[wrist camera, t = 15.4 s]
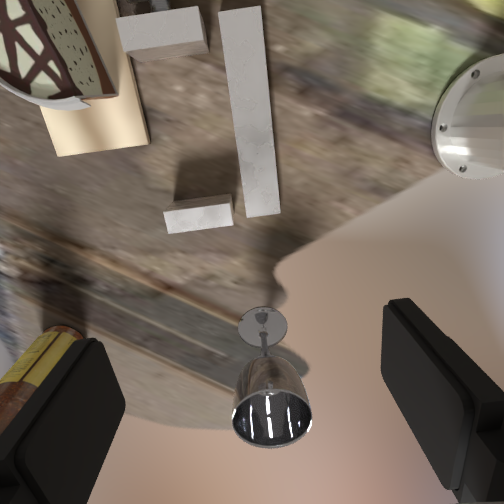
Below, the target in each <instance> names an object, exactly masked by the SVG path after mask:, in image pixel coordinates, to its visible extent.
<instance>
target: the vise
mask: <svg viewBox="0 0 504 504" xmlns="http://www.w3.org/2000/svg"><path fill="white" fill-rule="evenodd" d="M126 1H127V2H128V3H130V4H133V3H139V2H146V1H149V3H150V8H151V13H147V14H140V15H133V16H127V17H120V18H115V19H116V23H117V27H118V31H119V35H120V40H121V44H122V48H123V52H125V53H126V54H128V55H130V56H131V57H133V58H134V59H136V60H138V61H139V62H141V63H143V62H149V61H156V60H163V59H170V58H177V57H184V56H191V55H197V54H204V53H209V49H208V42H207V36H206V30H205V24H204V21H203V18H202V16H201V13H200V10H199V7H198V6H194V7H187V8H180V9H174V10H171V5H170V0H126ZM218 16H219V23H220V30H221V37H222V44H223V51H224V58H225V65H226V72H227V79H228V87H229V94H230V101H231V108H232V115H233V122H234V129H235V136H236V143H237V150H238V158H239V165H240V172H241V179H242V186H243V193H244V200H245V207H246V214H247V218H249V217H256V216H264V215H271V214H279V213H281V212H280V201H279V191H278V181H277V170H276V160H275V150H274V139H273V129H272V118H271V108H270V98H269V87H268V77H267V67H266V56H265V46H264V36H263V25H262V15H261V6H254V7H247V8H241V9H234V10H227V11H221V12H218ZM163 213H164V217H165V221H166V225H167V229H168V233H169V234H170V233H178V232H185V231H193V230H200V229H208V228H215V227H223V226H230V225H233V220H234V209H233V202H232V196H231V194H223V195H216V196H209V197H201V198H194V199H187V200H179V201H173V202H172V203H171V204H170V205H169V206H168V208H167V209H166V210H165V211H164V212H163Z"/></svg>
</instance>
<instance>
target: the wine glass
mask: <svg viewBox="0 0 504 504" xmlns="http://www.w3.org/2000/svg"><path fill="white" fill-rule="evenodd" d="M238 332H239V335H240V337H241V339H242V340H243V341H244V342H245V343H246V344H248V345H250V346H252V347H255V348H261V353H260V356H259V357H256V358H254V359H252V360H251V361H250V362H248V363H247V364H246V365H245V366H244V368H243V369H242V371H241V373H240V375H239V377H238V380H237V383H236V387H235V392H234V397H233V407H232V424H233V428H234V431H235V433H236V434H237V435H238V436H239V438H240V439H242V440H243V441H244V442H246V443H248V444H250V445H253V446H256V447H260V448H279V447H284V446H288V445H290V444H292V443H294V442H296V441H298V440H300V439H301V438H302V437H303V436H304V435H305V434H306V433H307V432H308V430H309V428H310V426H311V423H312V412H311V407H310V403H309V399H308V396H307V393H306V390H305V388H304V385H303V383H302V381H301V378H300V376H299V375H298V373H297V371H296V370H295V369H294V367H293V366H292V365H291V364H290V363H289V362H288V361H286V360H285V359H283V358H281V357H278V356H275V355H272V354H271V353H270V351H269V347H272V346H274V345H276V344H278V343H279V342H280V341H281V340H282V339H283V338H284V337H285V335H286V332H287V321H286V319H285V317H284V316H283V315H282V314H281V313H280V312H279V311H277V310H275V309H273V308H269V307H258V308H254V309H252V310H250V311H248V312H247V313H245V314H244V315H243V316H242V318H241V319H240V321H239V324H238Z"/></svg>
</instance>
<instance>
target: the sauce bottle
mask: <svg viewBox="0 0 504 504" xmlns="http://www.w3.org/2000/svg"><path fill="white" fill-rule="evenodd" d="M79 339H84V338H83V337H82V335H81V334H80V333H79V332H78V331H76V330H74V329H72V328H70V327H67V326H62V325H61V326H60V325H59V326H55V327H51V328H48V329H47V330H45V331H44V333H43V334H42V335H40V336H39V337H38V338H37V339H36V340H35V341H34V342H33V343H32V345H31V346H30V347H29V348H28V349H27V350H26V351H25V353H24V354H23V355H22V356H21V357H20V358H19V359H18V360H17V362H16V363H15V364H14V365H13V366H12V367H11V369H10V370H9V371H8V372H7V373H6V374H5V375H4V376H3V377H2V378H1V380H0V435H1V434H2V432H3V431H4V430H5V429H6V427H7V426H8V425H9V424H10V422H11V421H12V420H13V418H14V417H15V416H16V415H17V413H18V412H19V411H20V409H21V408H22V407H23V406H24V404H25V403H26V402H27V400H28V399H29V398H30V397H31V395H32V394H33V393H34V392H35V390H36V389H37V388H38V386H39V385H40V384H41V383H42V381H43V380H44V379H45V377H46V376H47V375H48V374H49V372H50V371H51V370H52V368H53V367H54V366H55V365H56V363H57V362H58V361H59V360H60V358H61V357H62V356H63V354H64V353H65V352H66V351H67V349H68V348H69V347H70V345H71V344H72V343H73V342H74V341H75V340H79Z"/></svg>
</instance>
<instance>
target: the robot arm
mask: <svg viewBox="0 0 504 504" xmlns="http://www.w3.org/2000/svg"><path fill="white" fill-rule="evenodd" d="M439 128H440V129H439ZM431 138H432V146H433V150H434V153H435V155H436V157H437V159H438V161H439V162H440V163H441V165H442V166H443V167H444V168H445V169H446V170H448V171H449V172H451V173H452V174H454V175H457V176H459V177H464V178H468V179H487V178H492V177H495V176H498V175H501V174H503V173H504V53H503V54H499V55H495V56H491V57H488V58H486V59H483V60H480V61H478V62H477V63H475V64H473V65H471V66H470V67H468V68H467V69H466V70H465V71H463V72H462V73H461V74H460V75H458V77H457V78H456V79H455V80H454V81H453V82H452V83H451V84H450V85H449V87H448V88H447V90H446V91H445V93H444V94H443V96H442V97H441V99H440V101H439V104H438V106H437V108H436V111H435V114H434V117H433V122H432V129H431ZM381 374H382V377H383V379H384V382H385V383H386V385H387V387H388V389H389V391H390V392H391V394H392V396H393V398H394V400H395V401H396V403H397V405H398V407H399V408H400V410H401V412H402V414H403V416H404V417H405V419H406V421H407V423H408V425H409V426H410V428H411V430H412V432H413V433H414V435H415V437H416V439H417V441H418V443H419V444H420V446H421V448H422V450H423V451H424V453H425V455H426V457H427V459H428V461H429V462H430V464H431V466H432V468H433V470H434V471H435V473H436V475H437V477H438V478H439V480H440V482H441V484H442V485H443V486H444V488H445V489H447V490H452V492H453V493H454V495H455V497H456V499H457V500H458V502H459V503H458V504H504V392H503V391H502V390H501V388H500V387H498V385H496V384H495V382H493V380H492V379H491V378H490V377H489V376H487V374H486V373H485V372H484V371H483V370H482V369H481V368H480V367H479V366H478V365H477V364H476V363H475V362H474V361H473V360H472V359H471V358H470V357H469V356H468V355H467V354H466V353H465V352H464V351H463V350H462V349H461V348H460V347H459V346H458V345H457V344H456V343H455V342H454V341H453V340H452V339H450V338H449V337H448V336H446V335H445V334H444V333H443V332H442V331H441V330H440V329H439V328H438V327H437V326H436V325H435V324H434V323H433V322H432V321H431V320H430V319H429V318H428V317H427V316H426V314H425V313H424V312H423V311H422V310H421V309H420V308H418V306H417V305H416V304H415V303H414V302H413V301H412V300H411V299H410V298H402V299H394V300H390V301H389V303H388V305H385V306H384V307H383V327H382V350H381ZM124 411H125V399H124V396H123V394H122V391H121V389H120V386H119V383H118V381H117V378H116V376H115V373H114V371H113V368H112V366H111V363H110V361H109V358H108V355H107V353H106V350H105V348H104V345H103V343H102V342H100V341H98V340H97V339H96V338H87V339H79V340H75V341H74V342H73V343H72V344H71V345H70V347H69V348H68V349H67V351H66V352H65V353H64V354H63V356H62V357H61V358H60V360H59V361H58V362H57V363H56V365H55V366H54V367H53V368H52V370H51V371H50V372H49V374H48V375H47V376H46V377H45V379H44V380H43V381H42V383H41V384H40V385H39V386H38V388H37V389H36V390H35V392H34V393H33V394H32V395H31V397H30V398H29V399H28V400H27V402H26V403H25V404H24V406H23V407H22V408H21V409H20V411H19V412H18V413H17V415H16V416H15V417H14V418H13V420H12V421H11V422H10V424H9V425H8V426H7V427H6V429H5V430H4V431H3V432H2V434H1V435H0V504H87V502H88V499H89V497H90V494H91V492H92V489H93V487H94V485H95V482H96V480H97V477H98V475H99V472H100V470H101V467H102V465H103V463H104V460H105V458H106V455H107V453H108V450H109V448H110V446H111V443H112V441H113V438H114V436H115V433H116V431H117V429H118V426H119V424H120V421H121V419H122V417H123V414H124Z"/></svg>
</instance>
